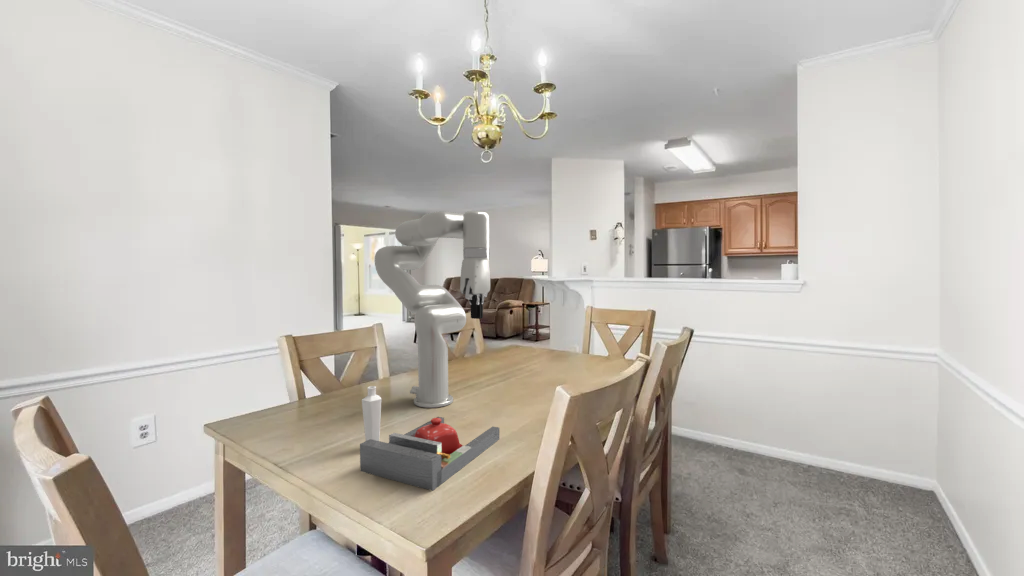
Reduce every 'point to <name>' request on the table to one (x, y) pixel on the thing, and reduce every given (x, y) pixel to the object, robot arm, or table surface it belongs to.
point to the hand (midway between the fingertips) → (476, 318)
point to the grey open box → (420, 460)
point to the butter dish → (440, 435)
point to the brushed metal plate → (418, 444)
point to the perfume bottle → (372, 414)
